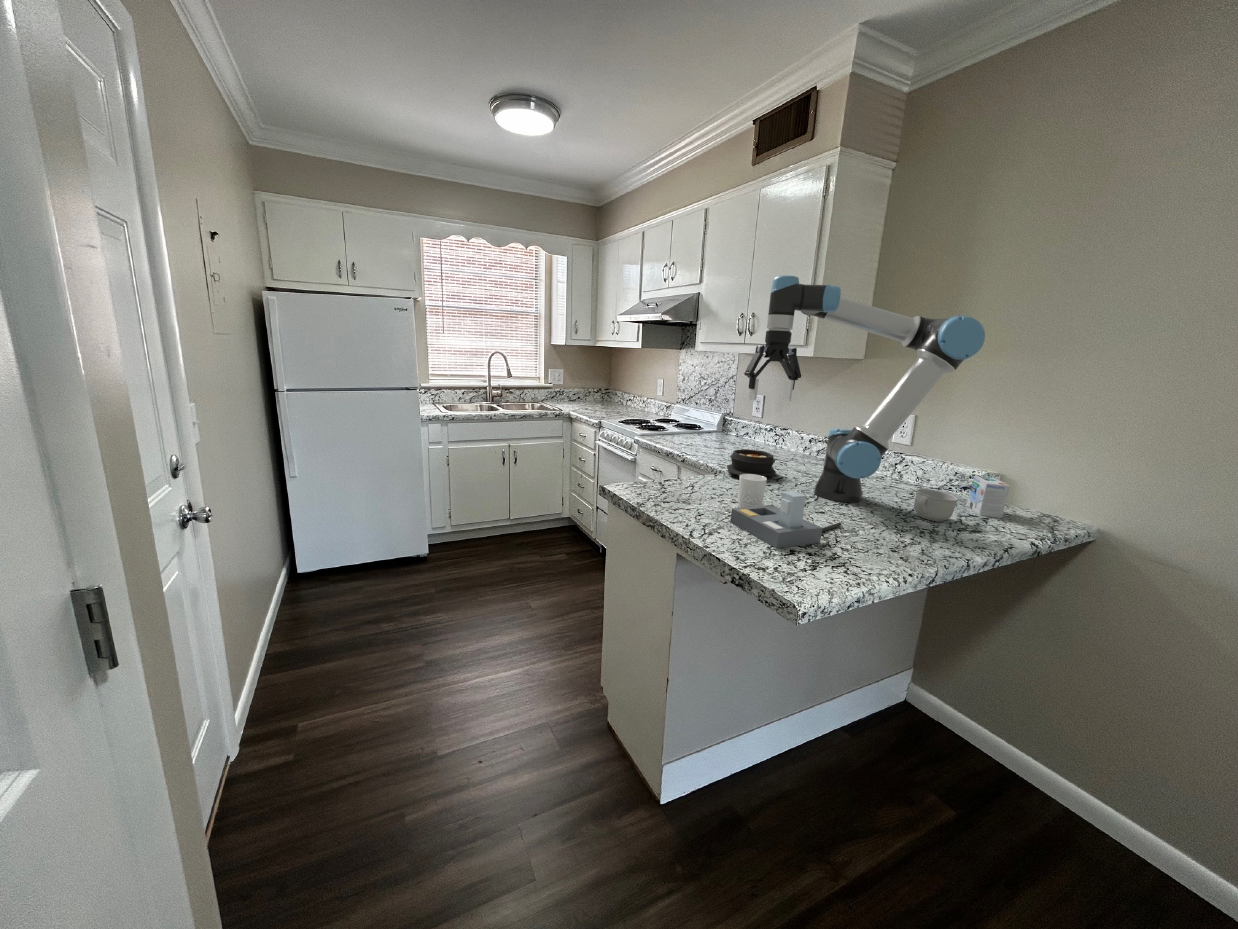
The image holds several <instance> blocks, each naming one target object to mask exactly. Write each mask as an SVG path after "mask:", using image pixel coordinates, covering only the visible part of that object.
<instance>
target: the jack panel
mask: <svg viewBox="0 0 1238 929" xmlns="http://www.w3.org/2000/svg"><path fill="white" fill-rule="evenodd" d="M779 514H780V507H778V506H776V505H774V504H767V505H762V506H753V507H742V508H738V507H734V508H733V507H731V512H730V521H729V523H731V524H733V525H735V526H736V527H738V528H739V529H742V530H743V531H746V532H747V533H749V534H751V535H753V536H754V537H756V538H757V539H758V540H759V539H760V540H762V541H763V542H764V543H767V544H768V545H770V546H771V547H773V548H775V549H781V548H788V547H796V546H803V545H805V546H806V545H811V544H813V545H814V544H819V543H820V544H821V537H822V533H823V532H822V528H823V527H821V526H820V525H818V524H815V523H813V522H811V521H808V520H807V519H804V518H803V519H802V526H801V527H799V528H790V529H787V528H785V527H783V526H781V525H779V524H778V521H779Z"/></svg>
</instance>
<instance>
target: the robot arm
mask: <svg viewBox="0 0 1238 929" xmlns="http://www.w3.org/2000/svg"><path fill="white" fill-rule="evenodd" d="M841 293H842V292H841V287H840V286H838V285H830V284H802V283H800V279H799V277H798V276H795V275H777V276H775V277H774V278H773V279H772V285H771V290H770V296H769V306H768V315H767V324H766V328H767V329H768V330H766V331H765V338H764V342H765V345H762V344H761V345H760V344H757V345H756V348H755V352H754V354H753V356H752V357H751V360H750V361H749V363H748V365H747V367H746V370H745V371H744V372H743V374H744V376H746V377H747V378H748V379H749V382H748V389H749V394H748V395H749V396H748V400H749V401H750V400H751V401H757V396H758V389H759V380H760V379H759V378H758V377H759V376H760V374H761V373H762V372H763V371H764V369H765V368H767V366H768V365H769V363H771V362H776V363H777V362H778V363H779V364H780V365H781V366H782V369H783V371H784V373H785V374H786V377H787V378H788V379H786V380H785V384H784V393H783V401H786V402H791V401H792V396H793V391H794V389H795V384H796V381H798V380H799V379H801V378H802V373H801V372H802V371H801V369H800V363H799V360H798V356H797V353H798V352H797V351H798V349H797V347H789V344H791V342H792V331H791V330H793V326H794V320H795V319H794V318H795V311H798V312H800V313H802V314H803V315H806V316H809V317H810V316H813V317H817V318H819V319H822V320H823V319H824V320H827V321H830V322H833V323H837V324H840V325H843V326H847V327H851V328H854V329H856V330H857V329H858V330H860V331H864V332H866V333H871V334H874V335H878V336H880V337H884V338H887V339H890V340H894V341H897V342H899V343H901V345H902V347H904V348H905V347H906V348H908V349H911V350H914V351H915V352H916V355H917V358H916V359H915V360H914V362H913V363H912V364H911V365H910V366H909V368H907V370H906V371H905V373H904V374H903V375H902V377H900V379H899V380H898V381H897V382H896V383H895V385H894V386H893V387H892V388H891V389H890V391H889V392H888V394H886V396H885V397H884V398H883V399H882V401H881V402H880V403H879V404H878V405H877V407H876V408H875V410H873V412H872V413H871V414H870V415H869V417H867V419H866V421H864V423H863V424H860V425H854V427H853V428H852V429H845V428H843V429H842V428H831V429H830V430H829V433H828V436H827V442H826V443H827V444H826V450H825V456H824V461H823V462H824V463H823V470H822V472H821V473H820V477H819V478H818V480H817V483H816V484H815V487H814V492H813V493H814V494H815V495H817V496H818V497H821V498H823V499H827V500H831V501H836V502H842V503H858V502H861V501H862V500H863V490H862V481H861V479H865V478H867V477H870V476H872V475H874V474H875V473H876V472H877V471H878V469H879V468H880V466H881V462H882V457H883V456H884V455H885V453H886V452H887V451H888V450H889V449H890V447H889V440H890V439H891V438H893V436H894V435H895V434H896V432H897V431H898V430H899V429H900V427H902V425H903V424H904V422H906V420H907V419H909V417H910V416H911V415H912V413H913V412H914V411H915V410H916V408H917V407H918V406H919V405H920V404H921V403H922V402H923V401H924V399H925V398H926V397H927V396H928V395H929V393H930V392H931V391H932V390H933V388H934V387H935V386H936V385H937V384H938V383H939V381H941V379H942V378H943V377H944V376H945V375H946V374H950V373H954V372H955V371H956V370H957V369H958V368H959V367H960V366H961V364H962V363H963V362H964V361H965V360H967V359H969V358H971V357H973V356H975V355H977V354H978V353H979V351H981V349H982V348H983V346H984V343H985V340H986V334H985V329H984V326H983V325H982V323H981V322H980V321H979V320H978V319H976V318H974V317H971V316H967V315H955V316H951V317H946V318H944V317H943V318H930V317H923V316H921V315H920V316H919V315H916V316H913V317H910V316H906V315H904V314H899V313H897V312H893V311H890V310H885V309H882V308H880V307H875V306H872V305H868V304H865V303H862V302H859V301H855V300H851V299H847V298H844V297H841V295H842V294H841Z"/></svg>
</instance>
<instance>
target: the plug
mask: <svg viewBox="0 0 1238 929" xmlns="http://www.w3.org/2000/svg"><path fill="white" fill-rule="evenodd" d="M806 499H807V495H806V494H803V493H800V492H798V491H794V490H792V491H782V492H781V499H780V505H779V506H780V507H779V508H780V514H779V521H778V524H779V525H781V526H783V527H785V528H787V529H790V528H799V527H801V526H802V519H804V518H803V517H804V512H805V506H806Z"/></svg>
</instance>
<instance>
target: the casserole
mask: <svg viewBox="0 0 1238 929" xmlns="http://www.w3.org/2000/svg"><path fill="white" fill-rule="evenodd" d="M729 457H730V458H731V464H728V465H727V466H726V469H727V472H728V473H729V474H732V475H735V476H738V477H740V475H742V474H755V475H760V476H763V477H766V478H767V477H768V476H769V477H771V476H774V475H775V474H777V471H776V470H775V469H774V467H773V466H774V463H776V460H775V458H774V455H773V454H772V453H769V452H766V451H763V450H758V449H757V450H756V449H744V448H743V449H736V450H733V451H732V453H731V455H730V456H729Z"/></svg>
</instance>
